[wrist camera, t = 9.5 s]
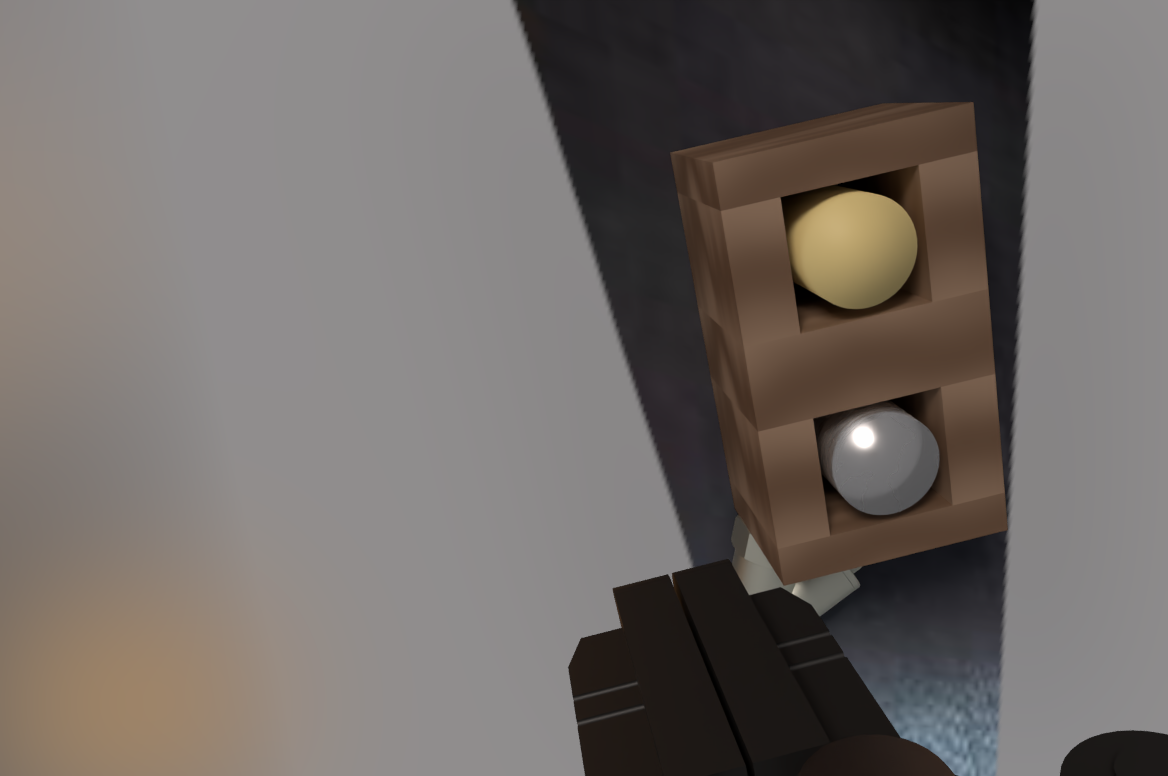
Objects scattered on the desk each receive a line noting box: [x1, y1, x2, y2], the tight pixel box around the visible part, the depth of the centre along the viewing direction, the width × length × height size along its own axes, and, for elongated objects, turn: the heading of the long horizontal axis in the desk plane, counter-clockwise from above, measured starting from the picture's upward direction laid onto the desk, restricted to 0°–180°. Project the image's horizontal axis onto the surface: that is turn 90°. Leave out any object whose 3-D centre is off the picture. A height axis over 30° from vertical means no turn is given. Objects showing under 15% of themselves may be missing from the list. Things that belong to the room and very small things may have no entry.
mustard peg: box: [780, 185, 917, 309], centre depth 39 cm, size 4×4×8 cm
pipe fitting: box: [731, 515, 862, 616], centre depth 47 cm, size 8×4×7 cm
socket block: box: [670, 102, 1008, 586], centre depth 40 cm, size 18×10×8 cm, turn 12°
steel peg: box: [813, 400, 940, 515], centre depth 41 cm, size 4×4×8 cm
